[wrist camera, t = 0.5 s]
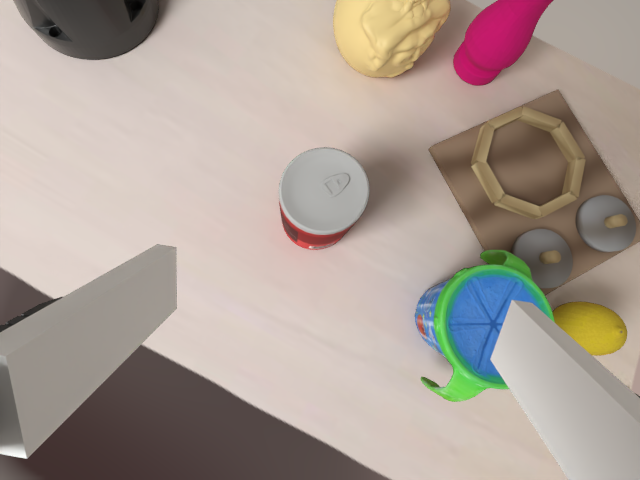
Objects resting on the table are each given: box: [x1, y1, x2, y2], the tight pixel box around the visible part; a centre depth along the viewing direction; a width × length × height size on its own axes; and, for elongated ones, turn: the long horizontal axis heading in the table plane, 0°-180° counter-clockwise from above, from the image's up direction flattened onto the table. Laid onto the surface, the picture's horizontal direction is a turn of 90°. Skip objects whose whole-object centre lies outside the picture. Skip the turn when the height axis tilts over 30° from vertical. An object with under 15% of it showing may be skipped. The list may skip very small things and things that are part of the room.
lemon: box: [552, 302, 627, 355], centre depth 34 cm, size 6×6×8 cm
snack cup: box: [415, 250, 555, 402], centre depth 32 cm, size 16×10×10 cm
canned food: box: [279, 147, 369, 250], centre depth 33 cm, size 8×8×11 cm
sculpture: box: [333, 0, 451, 78], centre depth 37 cm, size 11×12×11 cm
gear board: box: [429, 90, 640, 295], centre depth 39 cm, size 22×20×4 cm
